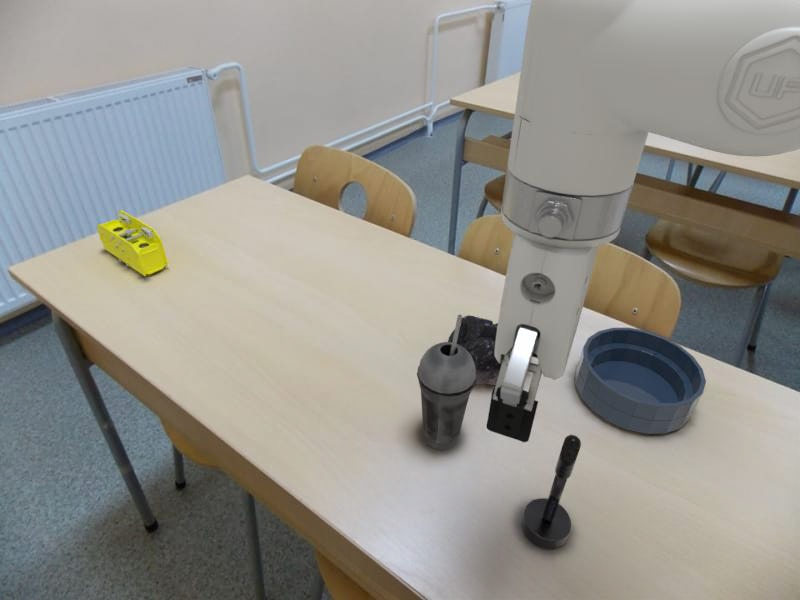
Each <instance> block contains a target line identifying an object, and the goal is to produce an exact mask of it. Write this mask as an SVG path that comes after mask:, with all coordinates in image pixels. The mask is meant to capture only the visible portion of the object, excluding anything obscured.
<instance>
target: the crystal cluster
mask: <svg viewBox="0 0 800 600" xmlns="http://www.w3.org/2000/svg"><path fill="white" fill-rule="evenodd" d="M497 326H498V322H497V323H494V322H493V320H490V319H487V318H482V317H478V316H475V315H465V316H462V320H461V325H460V329H459V334H458V339H457V344H458V345H460V346H462V347H463V348H465V349H466V350H467V351H468V352H469V353H470V355H471V356H472V359H473V361H474V364H475V368H476V383H475V385H476V384H477V385H482V384H484V385H490V386H491V385H492V386H496V383H497V379H498V376H499V372H500V368H501V364H502V363H501V364H500V363H499V362H498V361H497V360H496V358H495V341H496V333H497ZM454 332H455V328H454V329H453V330H452V332H451V333H450V335H449V337H448V339H447V342H452V341H453V336H454ZM513 347H514V346H513Z"/></svg>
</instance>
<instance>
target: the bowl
mask: <svg viewBox="0 0 800 600" xmlns="http://www.w3.org/2000/svg"><path fill="white" fill-rule="evenodd" d="M704 373H705V372H704V369H703V367H702V366H701V365H700V363H699V362H698V361H697V359H696V358H695V357H694V356H693V355H692V354H691V353H690V352H688V351H687V349H685V348H684V347H682V346H681V345H680V344H678V343H677V342H674V341H673V340H671V339H669V338H668V337H665V336H663V335H660V334H658V333H655V332H651V331H648V330H644V329H639V328H633V327H610V328H606V329H602V330H599V331H597V332H595V333H594V334H592V335H590V336H589V337H588V338H587V339H586V341H585V343H584V345H583V347H582V350H581V353H580V357H579V361H578V364H577V367H576V370H575V379H574V381H575V387H576V389H577V391H578V394H579V396H580V398H581V399H582V400H583V402H584V403H585V404H586V405H587V406H588V407H589V408H590V410H591V411H593V412H594V413H595V414H597V415H598V416H600V417H601V418H603V419H604V420H605V421H607V422H608V423H611V424H613V425H614V426H615V425H616V426H618V427H620V428H622V429H624V430H627V431H632V432H636V433H642V434H647V435H648V434H649V435H650V434H655V435H656V434H657V435H658V434H668V433H670V432H674V431H676V430H679V429H681V428H682V427H683V426H685V424H686V423H688V422H689V421H690V419H691V417H692V416H693V413H694V411H695V410H696V407H697V406H698V404H699V403H700V400H701V399H702V397H703V395H704V391H705V388H706V385H707V384H706V383H707V380H706V376H705V374H704Z"/></svg>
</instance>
